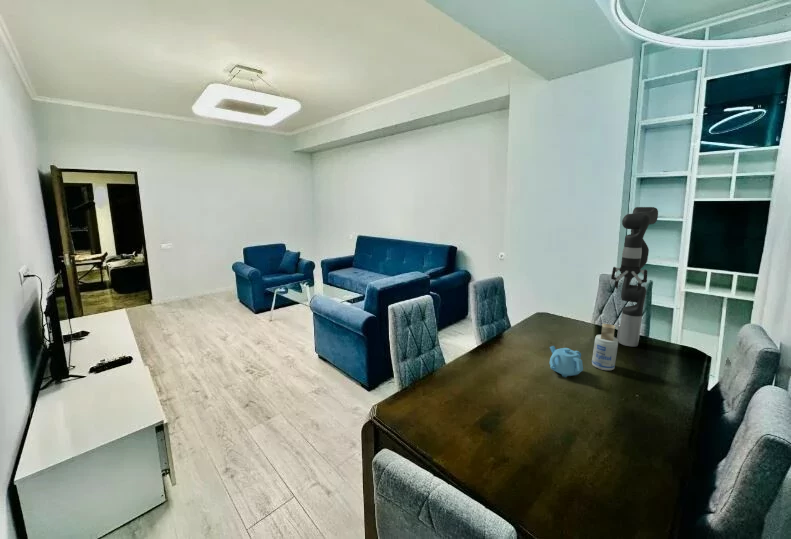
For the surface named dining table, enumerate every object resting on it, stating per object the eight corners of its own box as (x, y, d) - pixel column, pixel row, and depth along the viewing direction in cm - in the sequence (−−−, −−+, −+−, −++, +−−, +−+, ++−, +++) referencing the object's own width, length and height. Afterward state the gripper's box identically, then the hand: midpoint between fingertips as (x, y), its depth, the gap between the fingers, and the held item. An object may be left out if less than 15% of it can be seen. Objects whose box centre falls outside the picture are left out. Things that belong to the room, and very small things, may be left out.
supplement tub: (593, 369, 164) (596, 340, 161) (590, 360, 173) (593, 333, 170) (617, 372, 161) (620, 343, 158) (612, 363, 169) (615, 335, 166)
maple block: (600, 338, 163) (602, 326, 162) (601, 335, 167) (602, 323, 166) (613, 340, 161) (614, 328, 159) (613, 337, 165) (614, 325, 163)
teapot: (595, 379, 155) (598, 354, 153) (565, 385, 151) (567, 360, 148) (562, 359, 174) (564, 337, 172) (534, 364, 170) (536, 341, 167)
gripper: (613, 256, 165) (610, 289, 168) (650, 258, 158) (645, 293, 161) (613, 254, 171) (610, 285, 174) (649, 256, 164) (644, 289, 167)
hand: (627, 289), depth 168 cm, fingers open, 8 cm apart
